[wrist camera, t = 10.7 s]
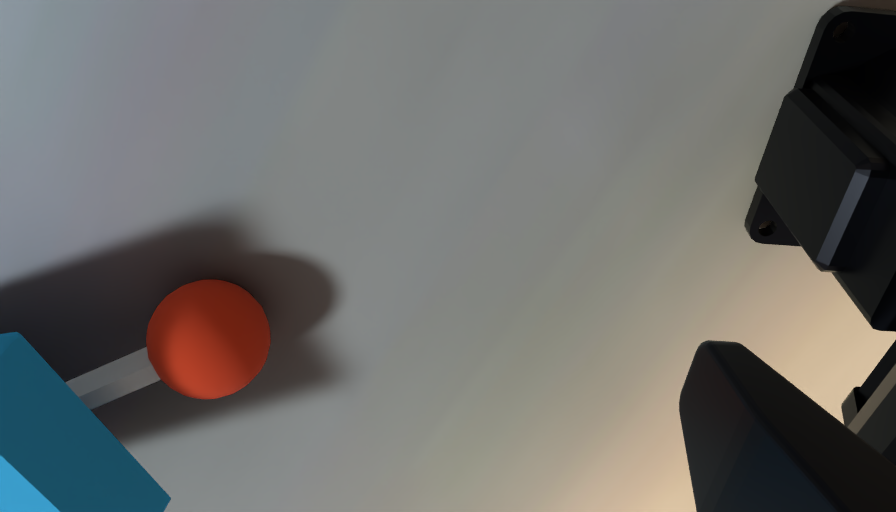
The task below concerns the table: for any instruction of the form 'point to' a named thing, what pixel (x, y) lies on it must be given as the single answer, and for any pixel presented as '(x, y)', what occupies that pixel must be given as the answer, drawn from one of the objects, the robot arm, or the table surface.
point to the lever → (70, 403)
